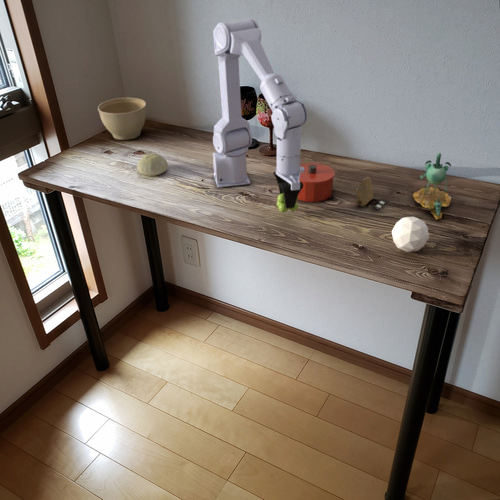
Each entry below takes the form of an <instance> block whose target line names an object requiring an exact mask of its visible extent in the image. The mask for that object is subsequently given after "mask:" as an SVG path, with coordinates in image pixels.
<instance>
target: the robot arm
mask: <svg viewBox="0 0 500 500" xmlns="http://www.w3.org/2000/svg"><path fill="white" fill-rule="evenodd" d="M212 33H213V47H214V56H217V63H218V76H219V77H218V78H219V91H220V101H221V102H220V103H221V104H220V105H221V115H222V116H221V118H220V119H219V120H218V121H217V122H216V124H215V125H214V126H213V135H212V144H213V148H214V150H215V151H216V152H213V153H212V162H213V163H212V164H213V178H214V180H215V184H216V187H217V188H227V187H228V188H229V187H235V186H236V187H237V186H246V185H250V184H251V180H250V178H249V176H248V170H247V152H248V151H249V147H250V146H251V145H252V142H253V134H252V131H251V128H250V122H249V121H248V120H246V119H245V118H243V117H242V116H243V115H242V99H241V82H240V81H241V80H240V63H239V62H240V61H239V59H240V57H241V56H242V57H244V58H245V59H246V60H247V62H248V64H249V66H251V67H252V70H253V71H254V73H255V74H256V75H257V77H258V79H259V80H260V85H259V90H260V92H261V94H262V95H263V97H264V99H265V101H266V103H267V104H268V106H269V108H270V110H271V112H272V113H271V115H270V117H271V123H272V125H273V129H274V130H273V131H274V136H275V137H276V167H275V171H273V175H274V177H275V180H276V182H277V186H278V191H279V195H280V194H283V195H284V202H285V206H286V208H288V209H289V208H294V207H295V204H296V202H297V201H298V200H297V197H298V194H299V192H300V191H301V189H302V188H303V183H302V182H300V181H299V179H300V174H301V173H303V172H305V169H304V167H300V164H301V152H302V151H301V149H302V148H301V147H302V126H303V125H305V124H306V122H307V120H308V111H307V108H306V106H305V104H304V102H303V101H301V100H299V99H298V98H297V97H296V96H293V94H292V92H291V91H290V89H289V87H288V85H287V84H286V82H285V80H284V77H283V76H282V74H279V73H275V72H274V69H273V67H272V65H271V63H270V60H269V59H268V56H267V54H266V52H265V50H264V48H263V45H262V43H261V42H262V30H261V29H260V26H259V24H258V22H257V20H255V19H254V18H253V17H249V18H245V19H240V20H234V21H226V22H219V23H217V25H216V26H215V27H214V29H213V31H212ZM296 200H297V201H296Z"/></svg>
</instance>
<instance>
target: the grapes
mask: <svg viewBox="0 0 500 500" xmlns="http://www.w3.org/2000/svg"><path fill="white" fill-rule="evenodd" d="M276 199H277V201H276V207H277V208H278V210H279V212H280V213H283V214H284V213H287V212H288V211H291V212H296V211H298V209H299V203H298V202H297V201H299V199H298V197H297V200H296V204H295V207H294V208H286V206H285V202H284V195H283V194H280V193H279V194H278V195H277V198H276Z"/></svg>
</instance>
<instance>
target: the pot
mask: <svg viewBox="0 0 500 500" xmlns="http://www.w3.org/2000/svg"><path fill="white" fill-rule="evenodd" d="M333 188H334V178H333V179H331V180H330V181H328V182H325V183H319V184H307V183H303V188H302V189H301V191H300V192H299V194H298V201H303V202H308V203H317V202H323V201H326V200H329V198H330V197H331V196H332V195H333V190H334V189H333Z"/></svg>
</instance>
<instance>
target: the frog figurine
mask: <svg viewBox="0 0 500 500" xmlns="http://www.w3.org/2000/svg"><path fill="white" fill-rule="evenodd" d="M441 158H442V153H441V152H439V153H437V154H436V158H435V159H436V160H435V163H432V160H427V161H425V162H424V166H425V171H424V173H423V174H420V176H419V178H420V179H421V180H422V179H423V178H424V177H425V178H426V180H427V182H428V183H427V185H426V187H422V188H421V189H419V190H417V191H415V192H413V193H412V197H413V199H414V201H415V202H416V203H418V204H420V205H421V207H423V208H425V209H428V210H431V211H430V214H432V216H433V217H434V218H435V220H440V219H442V218H443V217H442V215H443V214H444V213H443V212H442V211H441V210H442V208H444V207H445V208H447V207H449V206H450V204H451V200H452V196H450V195H449V193H447V190H448V189H447V185H448V184H447V183H448V180H447V172H448V171H449V168H450V167H452V164H451V163H450V162H449V161H446V162H445V163H444V164H445V165H443V163H441ZM444 181H445V188H444V191H443V190H440V189H439V188H438V185H440V184H442V183H443V182H444ZM430 184H432V185H434V187H433V186H430Z"/></svg>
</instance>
